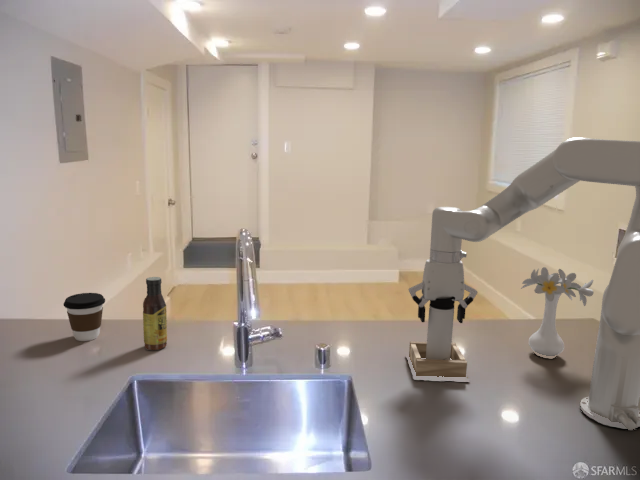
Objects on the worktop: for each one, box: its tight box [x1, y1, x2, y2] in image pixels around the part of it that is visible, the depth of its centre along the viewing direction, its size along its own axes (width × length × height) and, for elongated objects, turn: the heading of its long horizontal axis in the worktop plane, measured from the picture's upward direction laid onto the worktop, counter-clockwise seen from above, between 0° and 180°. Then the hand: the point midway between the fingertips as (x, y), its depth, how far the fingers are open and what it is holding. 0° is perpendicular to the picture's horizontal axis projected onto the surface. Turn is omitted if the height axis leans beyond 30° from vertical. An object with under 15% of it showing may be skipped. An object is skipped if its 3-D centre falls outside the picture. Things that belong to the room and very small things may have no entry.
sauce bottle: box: [142, 276, 168, 351], centre depth 140 cm, size 6×6×20 cm
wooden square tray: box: [408, 340, 468, 377], centre depth 133 cm, size 14×14×5 cm
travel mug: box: [426, 297, 456, 360], centre depth 131 cm, size 6×7×20 cm
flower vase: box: [520, 266, 594, 356], centre depth 142 cm, size 13×18×25 cm
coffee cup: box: [63, 292, 106, 342], centre depth 146 cm, size 11×11×12 cm
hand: (440, 320), depth 130 cm, fingers open, 9 cm apart
